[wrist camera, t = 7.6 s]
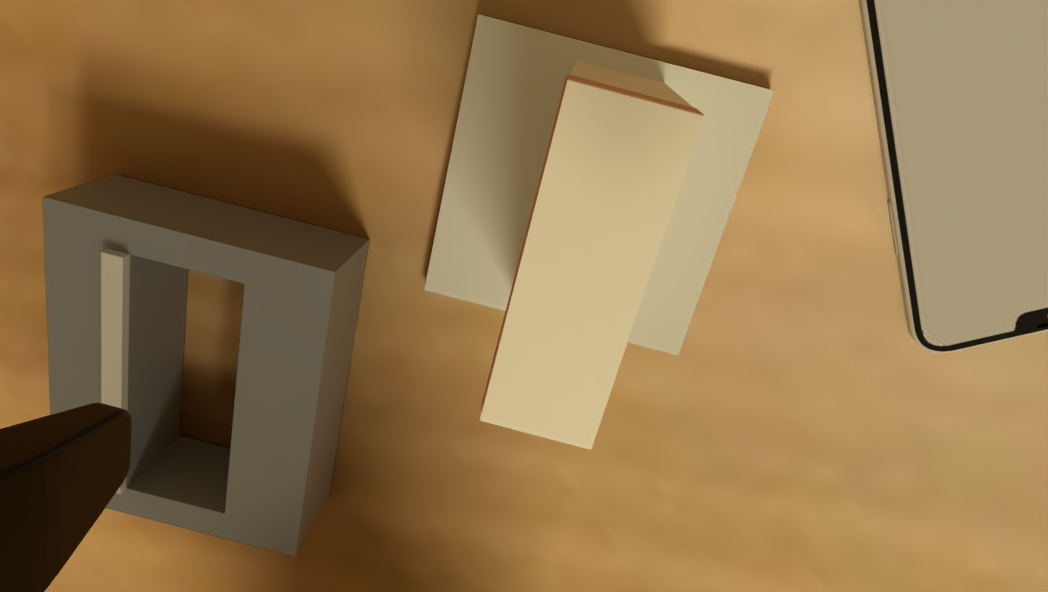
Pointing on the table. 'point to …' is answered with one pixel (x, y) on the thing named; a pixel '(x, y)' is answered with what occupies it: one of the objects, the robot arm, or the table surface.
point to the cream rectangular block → (588, 251)
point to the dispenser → (158, 349)
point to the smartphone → (964, 163)
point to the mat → (519, 152)
